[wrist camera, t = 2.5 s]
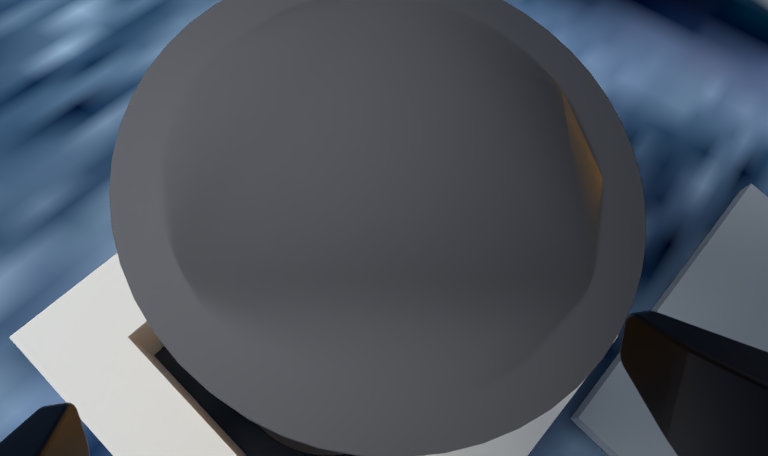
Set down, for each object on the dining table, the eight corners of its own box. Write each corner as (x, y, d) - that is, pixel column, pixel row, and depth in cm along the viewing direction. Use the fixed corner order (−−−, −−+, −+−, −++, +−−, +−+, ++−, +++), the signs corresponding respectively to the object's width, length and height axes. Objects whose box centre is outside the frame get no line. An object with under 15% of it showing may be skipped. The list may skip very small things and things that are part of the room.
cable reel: (459, 353, 19) (735, 183, 7) (329, 500, 17) (410, 613, 5) (330, 230, 20) (383, -105, 8) (192, 355, 18) (-16, 154, 6)
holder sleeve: (572, 352, 20) (618, 336, 17) (328, 664, 16) (335, 708, 13) (331, 130, 21) (336, 81, 19) (54, 356, 17) (9, 337, 15)
